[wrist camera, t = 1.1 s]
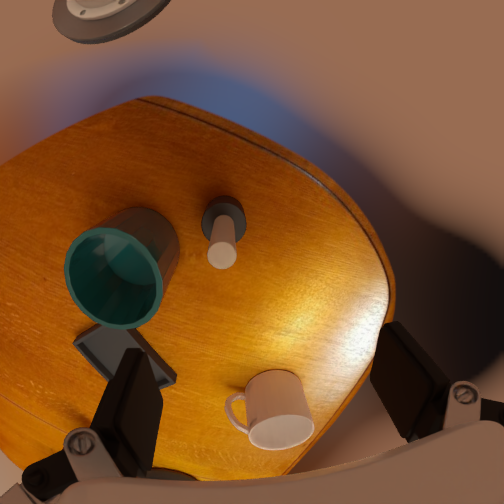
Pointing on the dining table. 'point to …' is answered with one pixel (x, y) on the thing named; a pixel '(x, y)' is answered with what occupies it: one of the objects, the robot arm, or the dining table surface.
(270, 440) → the mug
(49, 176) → the dining table surface
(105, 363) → the tray
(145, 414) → the robot arm
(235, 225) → the brush
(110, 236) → the jar
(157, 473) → the vase
